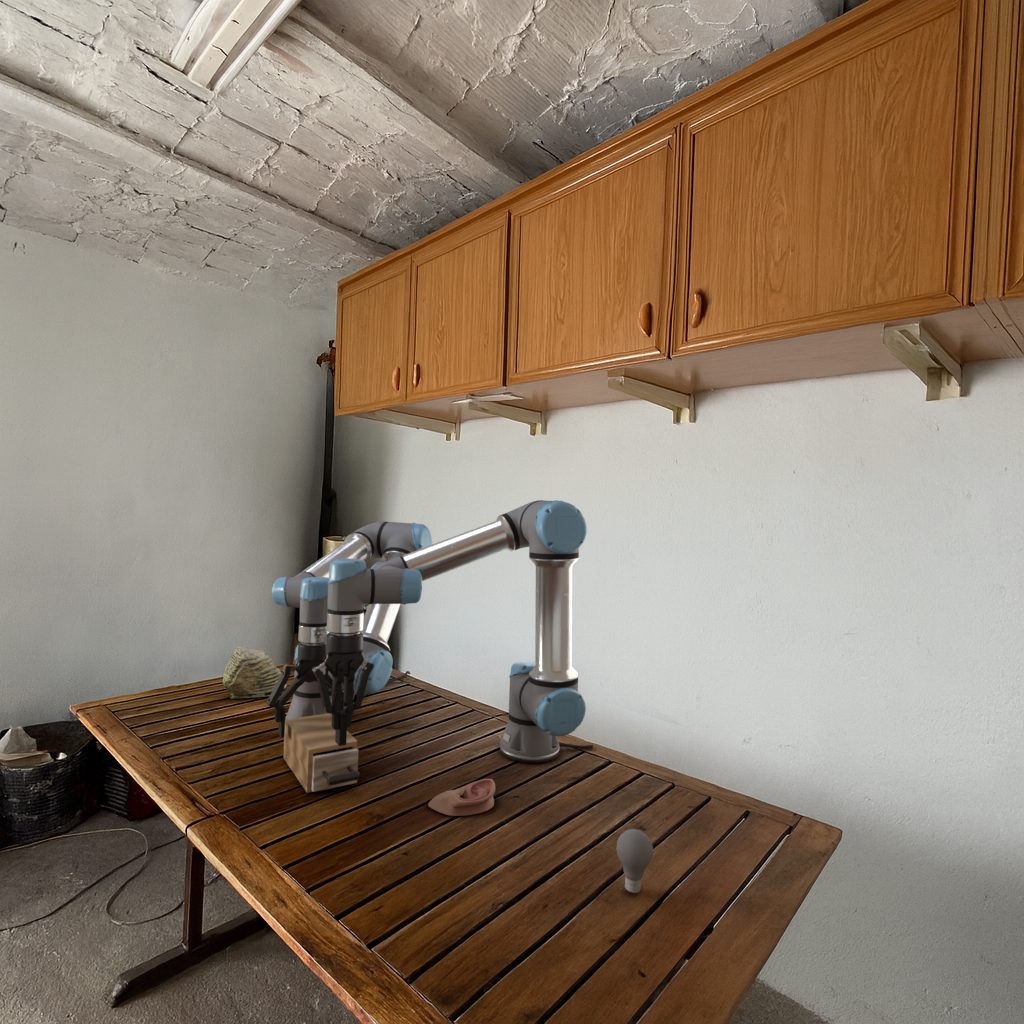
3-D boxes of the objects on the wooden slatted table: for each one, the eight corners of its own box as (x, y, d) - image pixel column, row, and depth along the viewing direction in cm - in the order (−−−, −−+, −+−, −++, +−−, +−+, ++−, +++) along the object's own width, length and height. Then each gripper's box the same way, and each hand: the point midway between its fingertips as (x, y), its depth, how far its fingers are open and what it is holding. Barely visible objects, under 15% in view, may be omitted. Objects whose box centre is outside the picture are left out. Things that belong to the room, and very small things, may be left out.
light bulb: (610, 879, 108) (613, 822, 108) (644, 879, 109) (647, 822, 109) (619, 902, 102) (622, 840, 102) (655, 901, 103) (658, 840, 103)
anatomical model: (423, 792, 129) (441, 769, 140) (422, 812, 129) (440, 787, 140) (487, 801, 126) (499, 777, 137) (486, 821, 126) (498, 795, 137)
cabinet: (355, 782, 141) (357, 741, 141) (306, 793, 135) (308, 749, 135) (328, 750, 158) (329, 713, 158) (283, 758, 152) (284, 719, 152)
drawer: (366, 793, 134) (367, 759, 134) (320, 803, 129) (322, 768, 129) (330, 751, 155) (331, 722, 155) (290, 759, 149) (291, 728, 149)
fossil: (218, 695, 195) (220, 647, 195) (278, 685, 208) (279, 640, 207) (228, 703, 189) (230, 653, 188) (289, 692, 201) (290, 645, 201)
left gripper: (263, 650, 142) (259, 744, 142) (370, 641, 155) (366, 727, 155) (256, 643, 148) (252, 733, 148) (359, 635, 162) (355, 718, 162)
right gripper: (319, 638, 127) (314, 755, 127) (380, 633, 134) (376, 744, 134) (308, 631, 133) (304, 742, 133) (368, 626, 140) (364, 732, 141)
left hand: (310, 730), depth 152 cm, fingers open, 13 cm apart
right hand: (340, 743), depth 134 cm, fingers closed
